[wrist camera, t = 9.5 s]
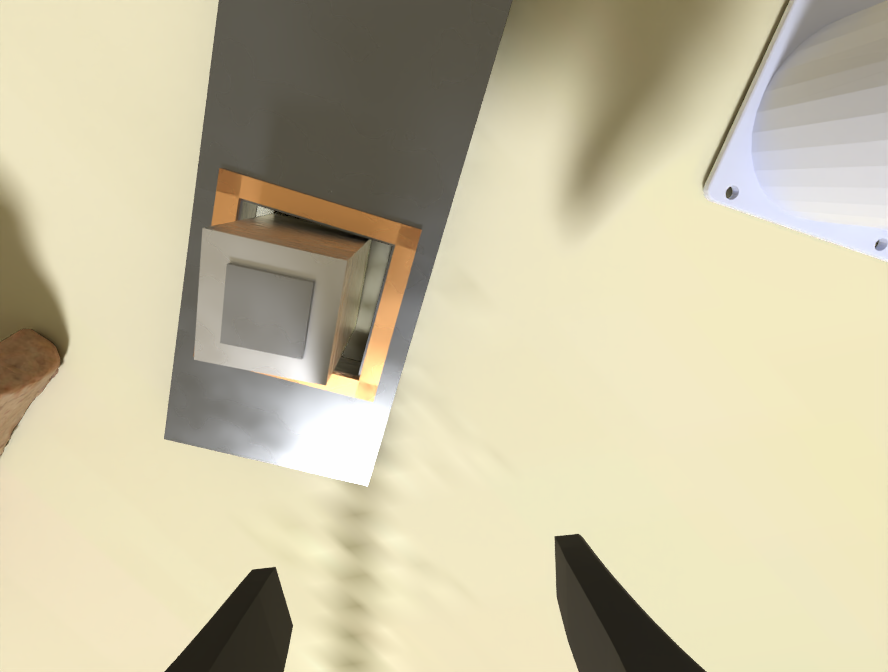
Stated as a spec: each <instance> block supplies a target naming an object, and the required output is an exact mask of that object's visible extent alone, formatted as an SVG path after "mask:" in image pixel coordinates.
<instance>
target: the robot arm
mask: <svg viewBox="0 0 888 672" xmlns="http://www.w3.org/2000/svg"><path fill="white" fill-rule="evenodd" d="M729 187H732V190H733V192H732V195H731V196H730V198H726V190H727V189H728V188H729ZM703 192H704V196H705V198H706V199H707V200H709V201H711V202H714V203H717V204H719V205H722V206H725V207H728V208H731V209H734V210H737V211H740V212H743V213H746V214H749V215H752V216H754V217H757V218H760V219H763V220H766V221H769V222H772V223H775V224H778V225H781V226H784V227H787V228H789V229H792V230H795V231H798V232H801V233H804V234H807V235H810V236H813V237H816V238H819V239H822V240H824V241H827V242H830V243H833V244H836V245H839V246H842V247H845V248H848V249H851V250H854V251H857V252H859V253H862V254H865V255H868V256H871V257H874V258H877V259H880V260H883V261H886V262H888V0H790V1H789V3H788V5H787V7H786V10H785V12H784V14H783V16H782V18H781V20H780V23H779V25H778V27H777V29H776V31H775V33H774V36H773V38H772V40H771V42H770V44H769V46H768V49H767V51H766V53H765V55H764V57H763V59H762V62H761V64H760V66H759V68H758V70H757V72H756V75H755V77H754V79H753V81H752V83H751V85H750V88H749V90H748V92H747V94H746V96H745V99H744V101H743V103H742V105H741V107H740V109H739V112H738V114H737V116H736V118H735V120H734V122H733V125H732V127H731V129H730V131H729V133H728V135H727V138H726V140H725V142H724V144H723V146H722V148H721V151H720V153H719V155H718V157H717V159H716V161H715V164H714V166H713V168H712V170H711V172H710V174H709V177H708V179H707V181H706V183H705V186H704V189H703ZM878 240H879V243H878V245H877V246H876V248H875V244H876V242H877V241H878ZM555 561H556V590H557V600H558V604H559V608H560V612H561V616H562V620H563V624H564V628H565V631H566V635H567V639H568V642H569V645H570V648H571V651H572V654H573V657H574V659H575V662H576V665H577V668H578V671H579V672H706V671H705V670H704V669H703V668H702V667H701V666H699V665H698V664H697V663H696V662H695V661H694V660H693V659H692V658H691V657H690V656H689V655H688V654H687V653H685V652H684V651H683V650H682V649H681V648H680V647H679V646H678V645H677V644H676V643H675V642H674V641H673V640H672V639H671V638H670V637H669V636H668V635H667V634H666V633H665V632H664V631H663V630H662V629H661V628H660V627H659V626H658V625H657V624H656V623H655V622H654V621H653V620H652V619H651V618H650V616H649V615H648V614H647V613H646V612H645V611H644V610H643V609H642V608H641V607H640V606H639V605H638V604H637V602H636V601H635V600H634V599H633V598H632V597H631V596H630V595H629V594H628V592H627V591H626V590H625V589H624V588H623V587H622V586H621V585H620V583H619V582H618V581H617V580H616V579H615V578H614V576H613V575H612V574H611V573H610V572H609V570H608V569H607V568H606V567H605V565H604V564H603V563H602V562H601V561H600V559H599V558H598V557H597V555H596V554H595V553H594V552H593V550H592V549H591V548H590V546H589V545H588V544H587V542H586V541H585V540H584V538H583V537H582V536H580V535H579V534H573V535H564V536H555ZM292 628H293V624H292V621H291V618H290V614H289V611H288V607H287V604H286V601H285V597H284V594H283V590H282V587H281V584H280V580H279V577H278V574H277V570H276V567H272V568H263V569H254V570H252V571H251V572H250V573H249V574H248V575H247V576H246V578H245V579H244V580H243V581H242V582H241V583H240V585H239V586H238V587H237V588H236V589H235V590H234V592H233V593H232V594H231V595H230V596H229V598H228V599H227V600H226V601H225V602H224V604H223V605H222V606H221V607H220V608H219V610H218V611H217V612H216V613H215V614H214V616H213V617H212V618H211V619H210V620H209V622H208V623H207V624H206V625H205V626H204V627H203V629H202V630H201V631H200V632H199V633H198V634H197V636H196V637H195V638H194V639H193V640H192V641H191V643H190V644H189V645H188V646H187V647H186V648H185V650H184V651H183V652H182V653H181V654H180V655H179V656H178V657H177V659H176V660H175V661H174V662H173V663H172V664H171V665H170V666H169V667H168V668H167V669H166V671H165V672H284V668H285V663H286V658H287V654H288V649H289V644H290V638H291V633H292Z"/></svg>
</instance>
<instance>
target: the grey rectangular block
mask: <svg viewBox="0 0 888 672" xmlns="http://www.w3.org/2000/svg"><path fill="white" fill-rule="evenodd" d="M370 246H371V239H368V238H365V237H361V236H358V235H355V234H351V233H348V232H345V231H341V230H338V229H335V228H331V227H328V226H325V225H321V224H317V223H312V222H308V221H304V220H299V219H295V218H291V217H287V216H282V215H278V214H274V213H273V214H268V215H263V216H258V217H253V218H249V219H244V220H239V221H234V222H229V223H224V224H219V225H214V226H209V227H204V228H202V242H201V258H200V273H199V288H198V303H197V318H196V333H195V349H194V360H198V361H203V362H208V363H213V364H218V365H223V366H228V367H233V368H239V369H244V370H249V371H254V372H259V373H264V374H269V375H274V376H279V377H284V378H289V379H294V380H299V381H304V382H310V383H315V384H320V385H325V386H326V385H327V383H328V381H329V379H330V377H331V375H332V373H333V371H334V369H335V367H336V365H337V363H338V361H339V359H340V357H341V355H342V353H343V351H344V349H345V347H346V345H347V343H348V341H349V339H350V337H351V335H352V333H353V331H354V329H355V327H356V322H357V317H358V311H359V306H360V300H361V295H362V289H363V284H364V278H365V273H366V268H367V262H368V257H369V251H370Z"/></svg>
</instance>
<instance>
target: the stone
mask: <svg viewBox="0 0 888 672" xmlns="http://www.w3.org/2000/svg"><path fill="white" fill-rule="evenodd" d="M60 364H61V362H60V356H59V353H58V351H57V348H56V346H55V345H54V344H53V343H52V342H50V341H49V340H48V339H46V338H44V337H42V336H41V335H39V334H38V333H36V332H35V331H34V330H33V329H22V330H19V331H18V332H16V333H14V334H13V335H11V336H10V337H8V338H6V339H5V340H3V341H1V342H0V455H1V454H2V453H3V451H4V450H3V449H4V447H5V445H6V443H7V441H9V440H10V436H11V434H12V432H13V429H14V427H15V426H16V425H18V423H19V422H20V420H21V419H22V417H23V416H24V414H25V411H26V409H27V408H28V407H29V405H30V404H31V403H32V401H33V400H34V399H35V398H36V396H38V395H39V394H40V393H41V392H42V391H43V390H44V388H45V387H46V385H47V384H48V383H49V381H50V380H51V377H52V378H53V377H54V376H55V375H56V374H57V373H58V367H59V365H60Z"/></svg>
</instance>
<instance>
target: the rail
mask: <svg viewBox="0 0 888 672" xmlns="http://www.w3.org/2000/svg"><path fill="white" fill-rule="evenodd" d="M511 3H512V0H219V4H218V12H217V20H216V28H215V36H214V44H213V52H212V60H211V68H210V76H209V84H208V92H207V100H206V108H205V116H204V124H203V132H202V140H201V148H200V156H199V164H198V172H197V180H196V188H195V196H194V204H193V212H192V220H191V228H190V236H189V244H188V252H187V260H186V268H185V276H184V284H183V292H182V300H181V308H180V316H179V324H178V332H177V340H176V348H175V356H174V364H173V372H172V380H171V388H170V396H169V404H168V412H167V420H166V428H165V436H164V439H166V440H171V441H175V442H179V443H184V444H188V445H192V446H197V447H201V448H205V449H210V450H214V451H218V452H223V453H227V454H231V455H236V456H240V457H244V458H249V459H253V460H257V461H262V462H266V463H270V464H275V465H279V466H283V467H288V468H292V469H296V470H301V471H305V472H309V473H313V474H318V475H322V476H326V477H331V478H335V479H339V480H344V481H348V482H352V483H357V484H361V485H365V486H368V484H369V480H370V477H371V474H372V470H373V467H374V463H375V460H376V457H377V453H378V450H379V447H380V443H381V440H382V437H383V433H384V430H385V427H386V423H387V420H388V416H389V413H390V410H391V406H392V403H393V400H394V396H395V393H396V390H397V386H398V383H399V380H400V376H401V373H402V369H403V366H404V363H405V359H406V356H407V353H408V349H409V346H410V343H411V339H412V336H413V332H414V329H415V326H416V322H417V319H418V316H419V312H420V309H421V306H422V302H423V299H424V296H425V292H426V289H427V285H428V282H429V279H430V275H431V272H432V269H433V265H434V262H435V259H436V255H437V252H438V249H439V245H440V242H441V238H442V235H443V232H444V228H445V225H446V222H447V218H448V215H449V212H450V208H451V205H452V202H453V198H454V195H455V191H456V188H457V185H458V181H459V178H460V175H461V171H462V168H463V165H464V161H465V158H466V155H467V151H468V148H469V144H470V141H471V138H472V134H473V131H474V128H475V124H476V121H477V118H478V114H479V111H480V108H481V104H482V101H483V97H484V94H485V91H486V87H487V84H488V81H489V77H490V74H491V71H492V67H493V64H494V60H495V57H496V54H497V50H498V47H499V44H500V40H501V37H502V34H503V30H504V27H505V24H506V20H507V17H508V13H509V10H510V7H511ZM257 205H258V206H261V207H265V208H268V209H271V210H275V211H278V212H281V213H285V214H288V215H291V216H295V217H298V218H301V219H305V220H308V221H311V222H315V223H318V224H321V225H325V226H328V227H331V228H335V229H338V230H341V231H345V232H348V233H351V234H355V235H358V236H361V237H365V238H368V239H371V240H375V241H378V242H381V243H385V244H388V245H391V246H392V250H391V253H390V257H389V261H388V265H387V269H386V272H385V276H384V280H383V284H382V287H381V291H380V295H379V299H378V302H377V306H376V310H375V314H374V317H373V321H372V325H371V329H370V333H369V336H368V340H367V344H366V348H365V351H364V355H363V359H362V362H360V361H356V360H352V359H348V358H345V357H340V359H339V361H338V363H337V365H336V367H335V369H334V371H333V373H332V375H331V377H330V379H329V381H328V383H327V385H326V386H325V385H320V384H315V383H310V382H304V381H299V380H294V379H289V378H284V377H279V376H274V375H269V374H264V373H259V372H254V371H249V370H244V369H239V368H233V367H228V366H223V365H218V364H213V363H208V362H203V361H198V360H194V349H195V333H196V318H197V303H198V288H199V273H200V258H201V242H202V228H204V227H209V226H214V225H219V224H224V223H229V222H234V221H239V220H244V219H249V218H253V217H255V216H256V210H257Z"/></svg>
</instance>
